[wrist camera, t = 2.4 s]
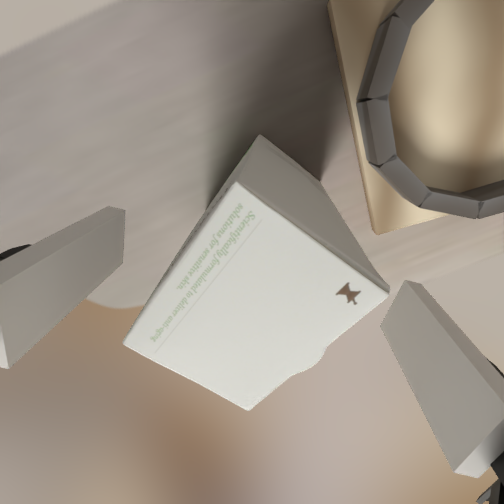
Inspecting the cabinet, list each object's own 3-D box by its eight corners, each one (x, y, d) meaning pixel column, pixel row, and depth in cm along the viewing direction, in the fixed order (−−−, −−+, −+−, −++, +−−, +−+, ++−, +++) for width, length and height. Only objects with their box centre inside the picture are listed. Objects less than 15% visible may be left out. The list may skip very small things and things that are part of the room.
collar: (372, 230, 24) (388, 247, 21) (326, 5, 18) (339, -20, 15) (594, 165, 21) (655, 174, 18) (628, -132, 15) (728, -202, 12)
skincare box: (260, 131, 22) (237, 158, 8) (326, 185, 23) (409, 291, 9) (201, 216, 25) (108, 345, 11) (262, 259, 26) (250, 423, 12)
